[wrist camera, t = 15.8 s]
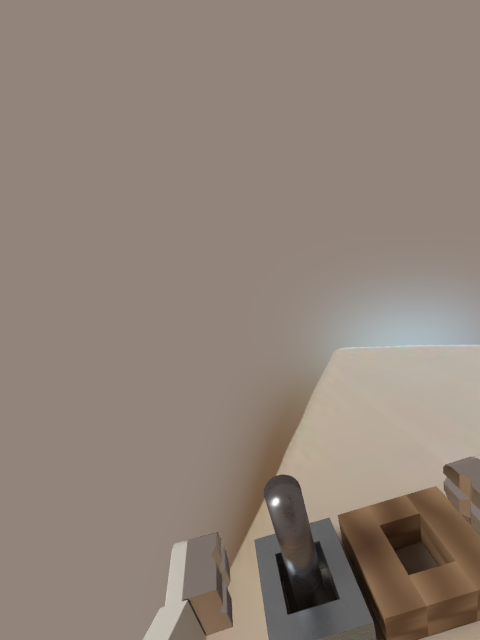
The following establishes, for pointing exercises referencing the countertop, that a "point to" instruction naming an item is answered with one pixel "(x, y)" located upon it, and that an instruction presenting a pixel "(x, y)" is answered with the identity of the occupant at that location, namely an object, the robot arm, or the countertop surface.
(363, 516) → the wooden square hole block
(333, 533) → the socket block
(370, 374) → the countertop surface
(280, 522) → the steel axle
